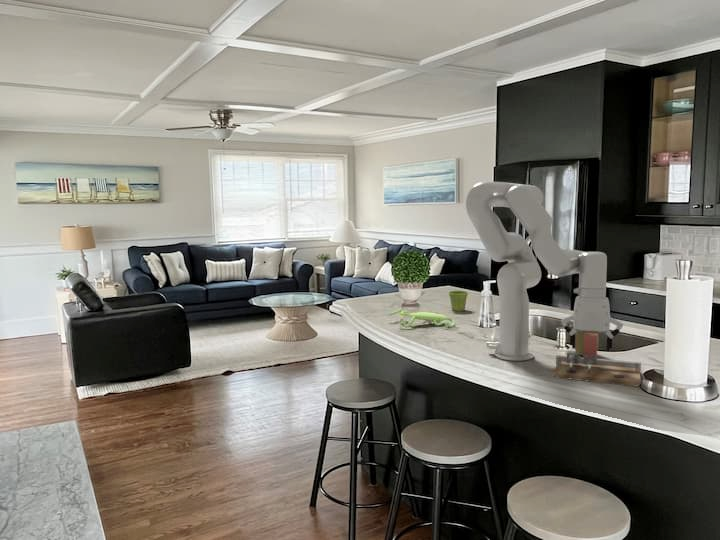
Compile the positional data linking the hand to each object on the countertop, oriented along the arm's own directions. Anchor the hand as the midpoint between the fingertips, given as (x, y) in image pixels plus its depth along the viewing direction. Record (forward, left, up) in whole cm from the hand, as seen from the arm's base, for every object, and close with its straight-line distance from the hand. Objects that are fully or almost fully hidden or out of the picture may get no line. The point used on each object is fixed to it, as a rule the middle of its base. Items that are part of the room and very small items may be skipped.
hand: (590, 348), depth 170 cm
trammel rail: (+2, -3, -6) cm, 7 cm away
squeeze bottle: (-2, +19, -7) cm, 20 cm away
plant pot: (-61, +80, -7) cm, 100 cm away
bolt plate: (+2, -3, -7) cm, 8 cm away
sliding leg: (0, -3, -5) cm, 6 cm away
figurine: (-69, +45, -7) cm, 83 cm away
